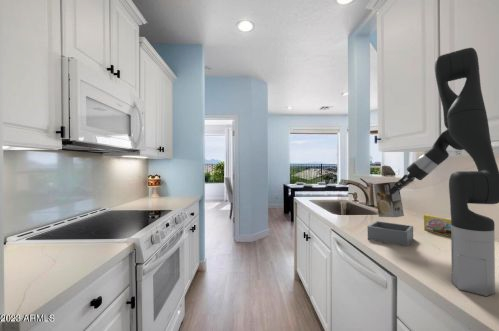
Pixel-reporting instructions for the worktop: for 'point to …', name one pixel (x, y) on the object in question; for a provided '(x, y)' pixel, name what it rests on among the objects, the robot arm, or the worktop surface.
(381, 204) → the coffee box
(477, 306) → the worktop surface
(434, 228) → the candy box
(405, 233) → the bin
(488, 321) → the worktop surface
